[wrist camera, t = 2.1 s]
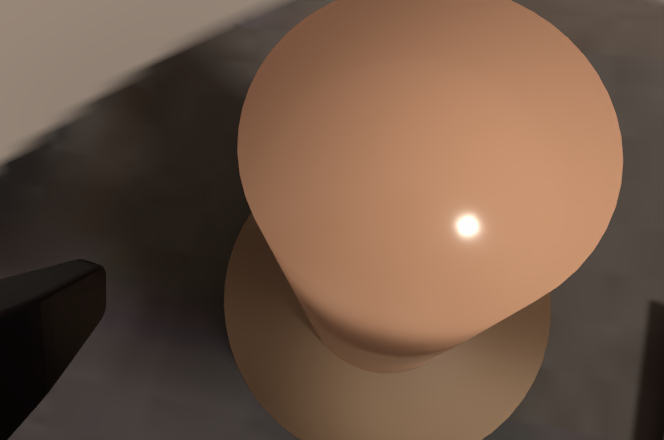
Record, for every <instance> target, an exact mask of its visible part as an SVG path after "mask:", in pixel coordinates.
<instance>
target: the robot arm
mask: <svg viewBox="0 0 664 440" xmlns="http://www.w3.org/2000/svg"><path fill="white" fill-rule="evenodd" d="M105 309H106V272H105V269H104V268H103V267H102V266H101V265H99V264H96V263H93V262H90V261H87V260H83V259H78V260H73V261H70V262H66V263H62V264H58V265H54V266H50V267H46V268H43V269H39V270H35V271H31V272H27V273H23V274H19V275H16V276H12V277H8V278H4V279H0V440H7V439H8V438H9V437H10V436H11V435H12V434H13V433H14V432H15V430H16V429H17V428H18V427H19V426H20V425H21V424H22V422H23V421H24V420H25V419H26V418H27V417H28V416H29V415H30V413H31V412H32V411H33V410H34V409H35V408H36V407H37V405H38V404H39V403H40V402H41V401H42V399H43V398H44V397H45V396H46V395H47V394H48V392H49V391H50V390H51V388H52V387H53V386H54V384H55V383H56V382H57V380H58V379H59V378H60V376H61V375H62V373H63V372H64V371H65V369H66V368H67V366H68V365H69V364H70V362H71V361H72V360H73V358H74V357H75V355H76V354H77V353H78V351H79V350H80V348H81V347H82V346H83V344H84V343H85V341H86V340H87V339H88V337H89V336H90V334H91V333H92V332H93V330H94V329H95V327H96V326H97V325H98V323H99V322H100V320H101V319H102V317H103V315H104V312H105Z"/></svg>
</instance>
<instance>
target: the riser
mask: <svg viewBox="0 0 664 440" xmlns="http://www.w3.org/2000/svg"><path fill="white" fill-rule="evenodd" d="M224 312H225V324H226V329H227V334H228V338H229V343H230V347H231V350H232V352H233V355H234V358H235V361H236V363H237V366H238V368H239V370H240V372H241V374H242V376H243V378H244V380H245V382H246V384H247V385H248V387H249V389H250V390H251V391H252V393H253V394H254V396H255V397H256V398H257V400H258V401H259V403H260V404H261V405H262V406H263V408H264V409H265V410H266V411H267V412H268V413H269V414H270V415H271V416H272V417H273V418H274V419H275V420H276V421H277V422H278V423H279V424H280V425H281V426H283V427H284V428H285V429H286V430H288V431H289V432H290V433H291V434H293V435H294V436H295V437H297V438H298V439H300V440H482V439H483V438H485V437H486V436H488V435H489V434H491V433H492V432H493V431H494V430H495V429H496V428H497V427H499V426H500V425H501V424H502V423H503V422H504V421H505V420H506V419H507V418H508V417H509V416H510V415H511V414H512V412H513V411H514V410H515V409H516V408H517V406H518V405H519V404H520V403H521V401H522V400H523V399H524V397H525V395H526V394H527V392H528V390H529V389H530V387H531V385H532V384H533V382H534V380H535V378H536V375H537V373H538V371H539V368H540V366H541V363H542V361H543V358H544V354H545V350H546V346H547V342H548V338H549V330H550V321H551V295H550V292H549V293H547V294H546V295H544V296H542V297H541V298H539V299H538V300H536V301H535V302H533V303H531V304H529V305H528V306H526V307H524V308H522V309H521V310H519V311H517V312H516V313H514V314H512V315H510V316H509V317H507V318H505V319H503V320H502V321H500V322H498V323H496V324H495V325H493V326H491V327H489V328H488V329H486V330H484V331H483V332H481V333H479V334H477V335H476V336H474V337H472V338H470V339H469V340H467V341H465V342H463V343H462V344H460V345H458V346H457V347H455V348H453V349H451V350H450V351H448V352H446V353H444V354H443V355H441V356H439V357H437V358H436V359H434V360H432V361H430V362H429V363H427V364H425V365H423V366H421V367H418V368H416V369H413V370H409V371H406V372H400V373H385V374H384V373H375V372H370V371H366V370H362V369H359V368H357V367H354V366H352V365H350V364H348V363H346V362H345V361H343V360H341V359H340V358H339V357H337V356H336V355H335V354H333V353H332V352H331V351H330V350H329V349H328V348H327V347H326V346H325V345H324V344H323V342H322V341H321V340H320V338H319V337H318V335H317V334H316V332H315V330H314V329H313V327H312V325H311V323H310V321H309V319H308V318H307V316H306V314H305V312H304V310H303V308H302V306H301V304H300V303H299V301H298V299H297V297H296V295H295V293H294V291H293V290H292V288H291V286H290V284H289V282H288V280H287V278H286V276H285V275H284V273H283V271H282V269H281V267H280V265H279V263H278V262H277V260H276V258H275V256H274V254H273V252H272V250H271V248H270V247H269V245H268V243H267V241H266V239H265V237H264V235H263V234H262V232H261V230H260V228H259V226H258V224H257V222H256V220H255V219H254V216H253V214H252V212H251V214H250V215H249V217H248V219H247V220H246V222H245V223H244V225H243V227H242V229H241V231H240V233H239V235H238V238H237V240H236V242H235V244H234V247H233V250H232V254H231V257H230V260H229V263H228V269H227V274H226V280H225V291H224Z"/></svg>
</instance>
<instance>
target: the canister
mask: <svg viewBox="0 0 664 440" xmlns="http://www.w3.org/2000/svg"><path fill="white" fill-rule="evenodd" d="M237 153H238V163H239V173H240V177H241V181H242V185H243V189H244V193H245V197H246V199H247V202H248V204H249V207H250V209H251V211H252V214H253V216H254V219H255V220H256V222H257V224H258V226H259V228H260V230H261V232H262V234H263V235H264V237H265V239H266V241H267V243H268V245H269V247H270V248H271V250H272V252H273V254H274V256H275V258H276V260H277V262H278V263H279V265H280V267H281V269H282V271H283V273H284V275H285V276H286V278H287V280H288V282H289V284H290V286H291V288H292V290H293V291H294V293H295V295H296V297H297V299H298V301H299V303H300V304H301V306H302V308H303V310H304V312H305V314H306V316H307V318H308V319H309V321H310V323H311V325H312V327H313V329H314V330H315V332H316V334H317V335H318V337H319V338H320V340H321V341H322V342H323V344H324V345H325V346H326V347H327V348H328V349H329V350H330V351H331V352H332V353H333V354H335V355H336V356H337V357H339V358H340V359H341V360H343V361H345V362H346V363H348V364H350V365H352V366H354V367H357V368H359V369H362V370H366V371H370V372H375V373H384V374H385V373H400V372H406V371H409V370H413V369H416V368H418V367H421V366H423V365H425V364H427V363H429V362H430V361H432V360H434V359H436V358H437V357H439V356H441V355H443V354H444V353H446V352H448V351H450V350H451V349H453V348H455V347H457V346H458V345H460V344H462V343H463V342H465V341H467V340H469V339H470V338H472V337H474V336H476V335H477V334H479V333H481V332H483V331H484V330H486V329H488V328H489V327H491V326H493V325H495V324H496V323H498V322H500V321H502V320H503V319H505V318H507V317H509V316H510V315H512V314H514V313H516V312H517V311H519V310H521V309H522V308H524V307H526V306H528V305H529V304H531V303H533V302H535V301H536V300H538V299H539V298H541V297H542V296H544V295H546V294H547V293H549V292H550V291H552V290H553V289H555V288H556V287H558V286H559V285H560V284H561V283H563V282H564V281H565V280H566V279H567V278H568V277H569V276H571V275H572V274H573V273H574V272H575V271H576V270H577V269H578V268H579V267H580V266H581V265H582V263H583V262H584V261H585V260H586V259H587V257H588V256H589V255H590V254H591V253H592V252H593V250H594V249H595V247H596V246H597V244H598V242H599V241H600V239H601V237H602V236H603V234H604V232H605V231H606V229H607V227H608V224H609V222H610V219H611V217H612V214H613V212H614V210H615V207H616V203H617V199H618V195H619V191H620V187H621V179H622V167H623V153H622V139H621V134H620V129H619V125H618V120H617V116H616V113H615V110H614V108H613V105H612V102H611V100H610V97H609V94H608V92H607V90H606V89H605V87H604V85H603V83H602V81H601V79H600V77H599V76H598V74H597V72H596V71H595V70H594V68H593V67H592V66H591V64H590V63H589V61H588V60H587V59H586V57H585V56H584V55H583V54H582V53H581V51H580V50H579V49H578V48H577V47H576V46H575V45H574V44H573V43H572V42H571V41H570V40H569V39H568V38H567V37H566V36H565V35H564V34H563V33H561V32H560V31H559V30H558V29H557V28H555V27H554V26H553V25H552V24H551V23H549V22H548V21H546V20H545V19H543V18H542V17H540V16H539V15H537V14H536V13H534V12H533V11H531V10H529V9H527V8H525V7H523V6H521V5H519V4H517V3H515V2H513V1H511V0H336V1H334V2H332V3H330V4H328V5H326V6H324V7H323V8H321V9H319V10H317V11H316V12H314V13H313V14H311V15H310V16H308V17H307V18H305V19H304V20H302V21H301V22H300V23H299V24H298V25H296V26H295V27H294V28H293V29H292V30H291V31H290V32H288V33H287V34H286V35H285V36H284V37H283V38H282V39H281V40H280V42H279V43H278V44H277V45H276V46H275V47H274V48H273V49H272V51H271V52H270V53H269V55H268V56H267V58H266V59H265V60H264V62H263V63H262V65H261V66H260V68H259V69H258V71H257V73H256V75H255V77H254V79H253V81H252V83H251V85H250V87H249V90H248V93H247V96H246V99H245V102H244V105H243V108H242V112H241V118H240V123H239V128H238V147H237Z"/></svg>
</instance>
